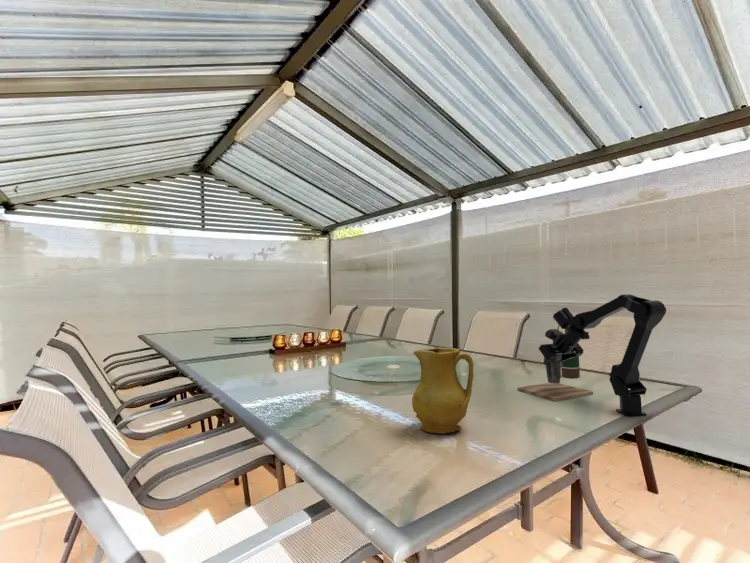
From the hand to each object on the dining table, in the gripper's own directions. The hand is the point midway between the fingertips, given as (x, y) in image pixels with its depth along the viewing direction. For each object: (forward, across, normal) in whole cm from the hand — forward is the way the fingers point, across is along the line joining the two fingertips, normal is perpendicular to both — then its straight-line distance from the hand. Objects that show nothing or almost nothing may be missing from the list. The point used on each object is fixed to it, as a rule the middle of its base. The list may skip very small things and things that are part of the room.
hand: (550, 362), depth 171 cm
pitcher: (-3, +63, +20) cm, 66 cm away
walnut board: (+8, 0, +9) cm, 12 cm away
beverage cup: (+5, 0, +6) cm, 8 cm away
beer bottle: (+20, -29, -3) cm, 35 cm away
